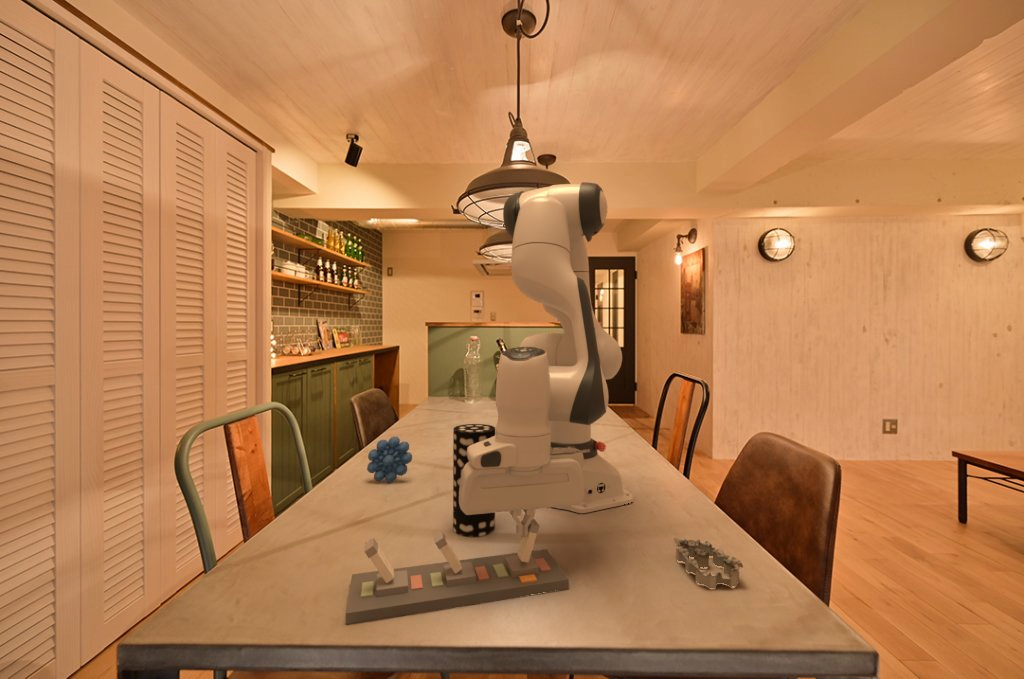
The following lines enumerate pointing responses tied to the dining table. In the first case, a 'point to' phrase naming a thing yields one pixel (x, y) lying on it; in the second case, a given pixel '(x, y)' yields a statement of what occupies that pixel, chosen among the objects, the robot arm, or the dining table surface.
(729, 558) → the egg carton
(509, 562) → the breaker panel
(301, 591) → the dining table surface
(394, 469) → the blue lobed flower shape
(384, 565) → the breaker far
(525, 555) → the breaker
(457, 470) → the white-spotted black cylinder
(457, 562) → the breaker mid
